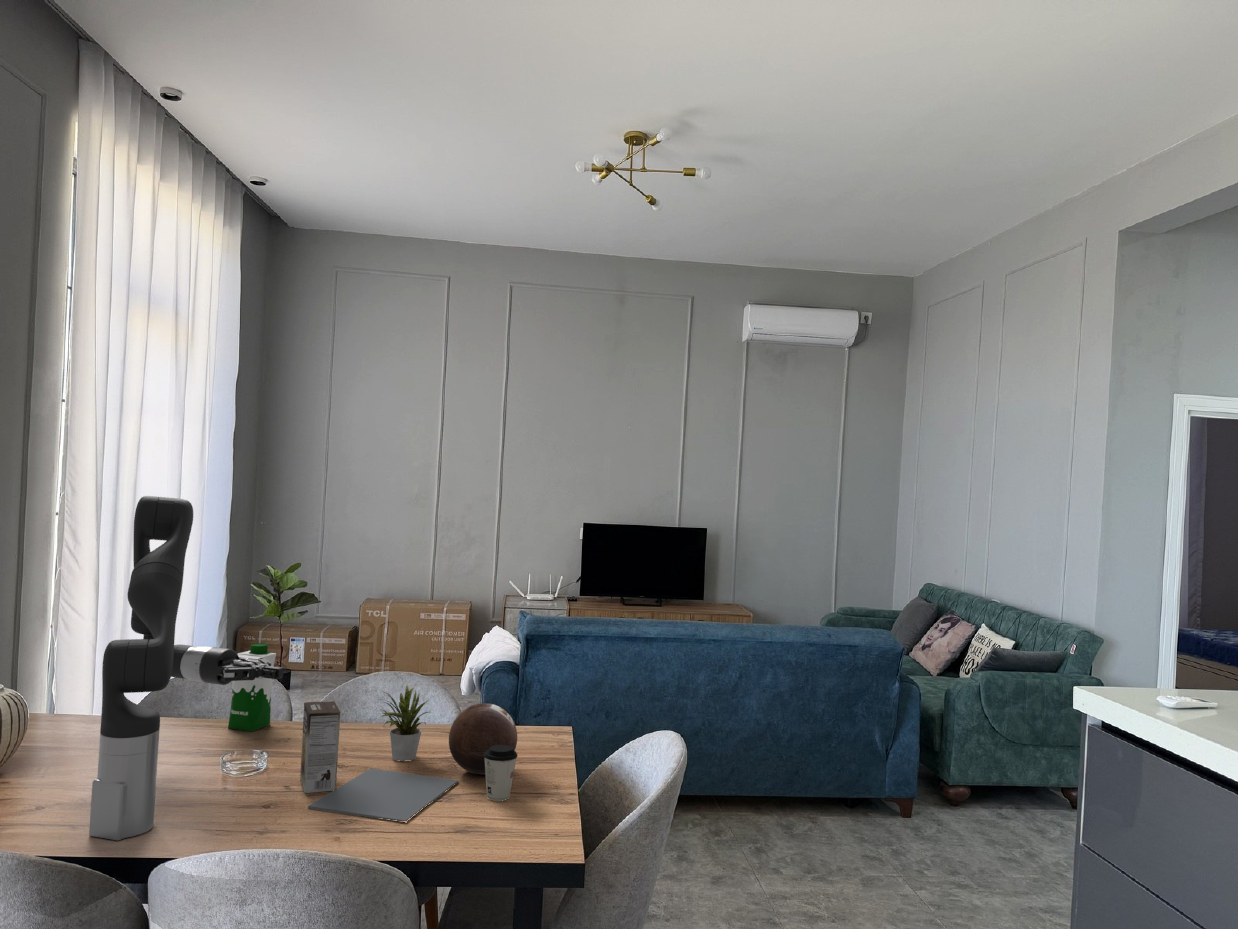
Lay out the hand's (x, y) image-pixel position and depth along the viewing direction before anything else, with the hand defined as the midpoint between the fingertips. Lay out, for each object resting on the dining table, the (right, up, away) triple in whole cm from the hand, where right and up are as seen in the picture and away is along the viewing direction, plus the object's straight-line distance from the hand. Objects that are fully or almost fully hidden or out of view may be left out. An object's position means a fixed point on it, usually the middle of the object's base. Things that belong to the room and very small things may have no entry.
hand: (281, 673), depth 186 cm
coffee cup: (+46, -24, -5) cm, 52 cm away
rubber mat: (+24, -23, -7) cm, 34 cm away
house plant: (+21, -24, +18) cm, 36 cm away
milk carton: (-21, -22, +35) cm, 46 cm away
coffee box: (+9, -23, -3) cm, 24 cm away
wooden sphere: (+40, -24, +10) cm, 48 cm away
